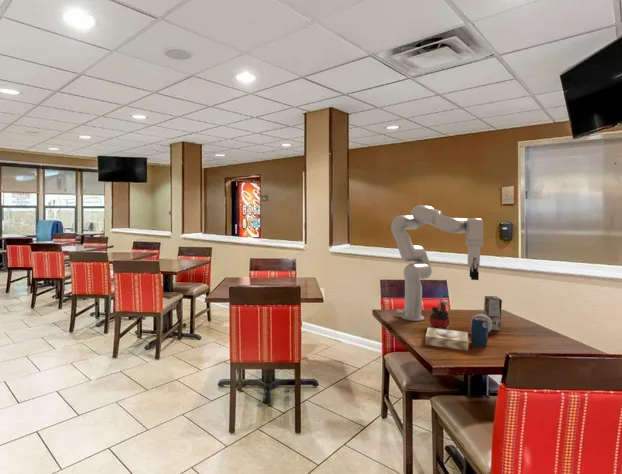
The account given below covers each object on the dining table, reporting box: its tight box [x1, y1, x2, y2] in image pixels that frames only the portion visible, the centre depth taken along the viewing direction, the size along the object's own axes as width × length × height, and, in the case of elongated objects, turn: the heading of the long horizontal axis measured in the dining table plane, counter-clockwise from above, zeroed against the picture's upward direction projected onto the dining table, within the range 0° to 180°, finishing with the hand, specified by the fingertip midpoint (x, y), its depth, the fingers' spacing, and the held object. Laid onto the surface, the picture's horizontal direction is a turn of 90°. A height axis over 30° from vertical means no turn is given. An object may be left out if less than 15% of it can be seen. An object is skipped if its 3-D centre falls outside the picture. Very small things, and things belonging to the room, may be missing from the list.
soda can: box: [470, 316, 489, 347], centre depth 169 cm, size 7×7×12 cm
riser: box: [424, 326, 469, 351], centre depth 170 cm, size 18×14×4 cm
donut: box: [470, 313, 493, 333], centre depth 184 cm, size 10×4×10 cm, turn 66°
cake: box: [429, 294, 450, 330], centre depth 190 cm, size 11×9×18 cm
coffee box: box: [483, 295, 503, 331], centre depth 195 cm, size 9×6×16 cm
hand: (473, 278), depth 179 cm, fingers open, 9 cm apart
